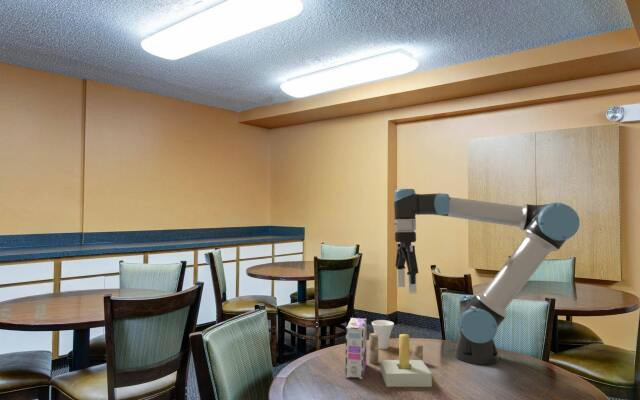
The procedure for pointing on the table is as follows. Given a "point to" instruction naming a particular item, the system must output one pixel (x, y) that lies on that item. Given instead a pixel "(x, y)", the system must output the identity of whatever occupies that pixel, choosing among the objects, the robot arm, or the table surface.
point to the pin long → (403, 351)
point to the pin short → (418, 352)
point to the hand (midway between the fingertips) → (406, 289)
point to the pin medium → (373, 348)
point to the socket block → (406, 374)
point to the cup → (383, 332)
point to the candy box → (356, 348)
